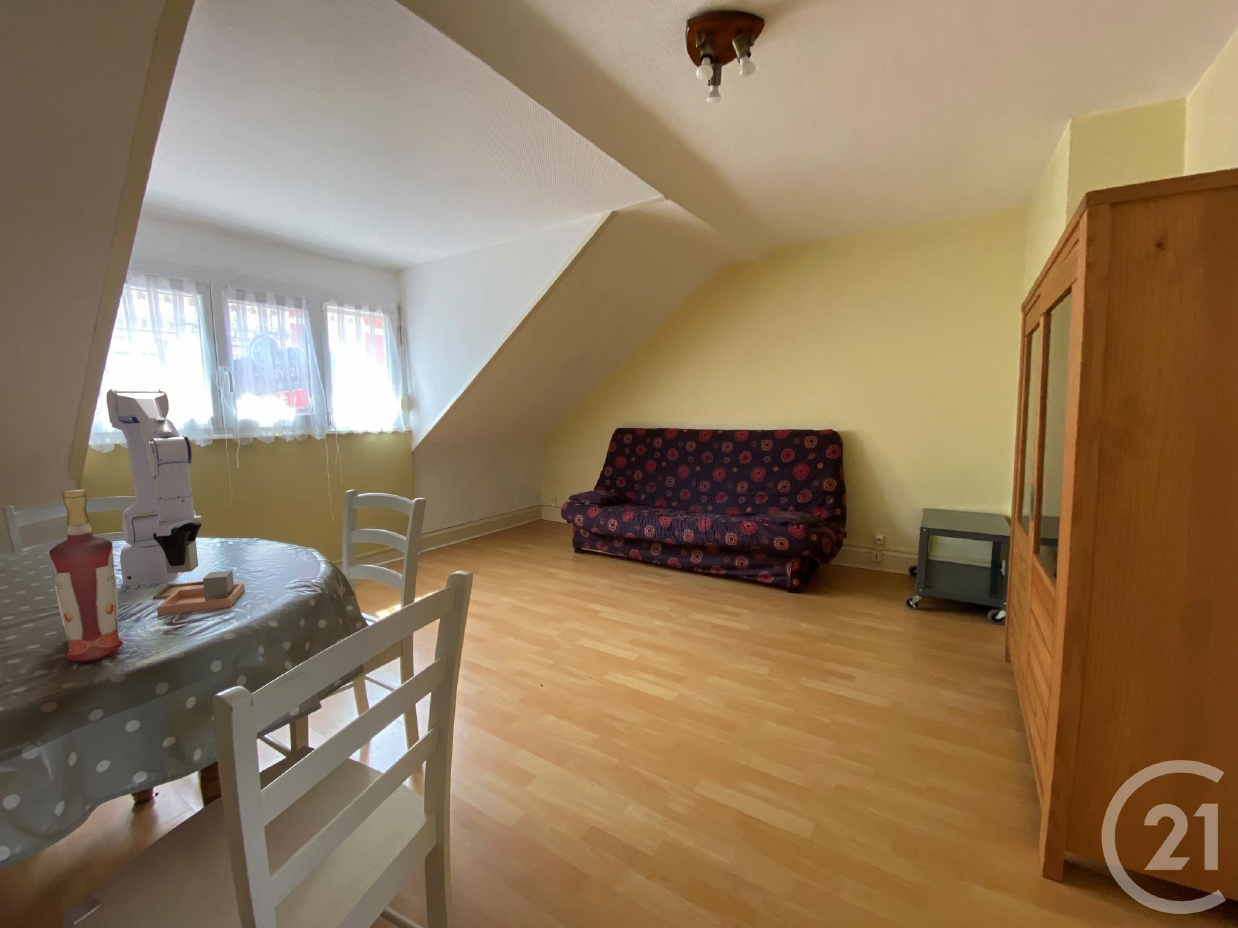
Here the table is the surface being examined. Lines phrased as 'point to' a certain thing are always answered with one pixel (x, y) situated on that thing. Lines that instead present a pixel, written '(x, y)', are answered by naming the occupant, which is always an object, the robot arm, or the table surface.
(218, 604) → the terracotta dish
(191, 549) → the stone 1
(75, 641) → the liquor
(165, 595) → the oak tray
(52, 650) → the table surface
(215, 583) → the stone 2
